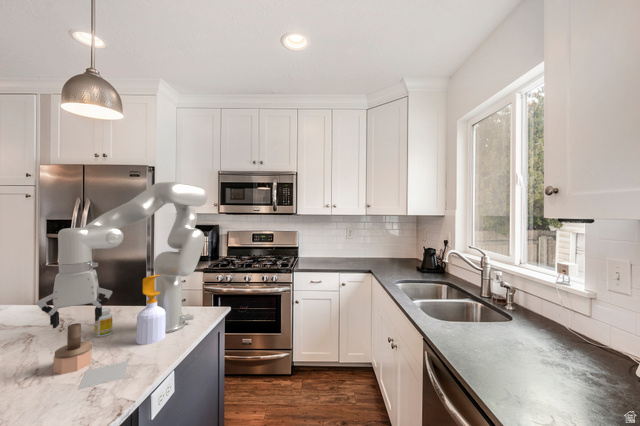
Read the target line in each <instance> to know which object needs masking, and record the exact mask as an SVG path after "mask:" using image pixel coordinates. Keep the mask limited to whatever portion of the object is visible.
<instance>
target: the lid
mask: <svg viewBox="0 0 640 426" xmlns="http://www.w3.org/2000/svg"><path fill="white" fill-rule="evenodd" d="M81 332H82V324H81V323H79V322H75V323H72V324H69V325H67V342H66V343H67V345H63V346H61V347H59V348H58V349H56V350H55V351H54V356H53V358H54V357H55V358H57V359H65V358H71V357H75V356H78V355H81V354H84V353H86V352H88V351H89V350H90V349H91V348H92V349H93V343H92V342H91V341H81V339H82V337H81V336H82V335H81V334H82V333H81Z"/></svg>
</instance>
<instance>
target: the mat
mask: <svg viewBox="0 0 640 426" xmlns="http://www.w3.org/2000/svg"><path fill="white" fill-rule="evenodd" d="M128 362H129V360H125V361H121V362H117V363H113V364H112V363H111V364H109V365H105V366H104V365H103V366H98V367H94V368H90V369H87V370H86V371H85V373H84V375H83V378H82V380H81V382H80V384H79V386H78V388H77V390H81V389H85V388H90V387H93V386H98V385H100V384H105V383H109V382H113V381H117V380H121V379H125V377H126V372H127V366H128Z"/></svg>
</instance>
